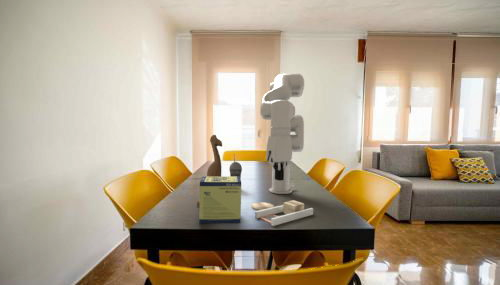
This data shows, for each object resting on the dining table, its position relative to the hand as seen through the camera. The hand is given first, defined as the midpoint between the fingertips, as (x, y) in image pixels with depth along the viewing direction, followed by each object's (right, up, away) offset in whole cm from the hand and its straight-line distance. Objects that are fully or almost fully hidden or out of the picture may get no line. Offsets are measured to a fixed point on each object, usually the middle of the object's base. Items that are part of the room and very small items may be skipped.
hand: (279, 179), depth 100 cm
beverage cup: (-20, -12, +46) cm, 52 cm away
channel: (+3, -15, +3) cm, 16 cm away
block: (+7, -15, +6) cm, 18 cm away
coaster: (-6, -14, +14) cm, 21 cm away
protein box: (-23, -15, 0) cm, 27 cm away
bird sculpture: (-28, -14, +17) cm, 36 cm away
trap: (-3, -15, -1) cm, 15 cm away
